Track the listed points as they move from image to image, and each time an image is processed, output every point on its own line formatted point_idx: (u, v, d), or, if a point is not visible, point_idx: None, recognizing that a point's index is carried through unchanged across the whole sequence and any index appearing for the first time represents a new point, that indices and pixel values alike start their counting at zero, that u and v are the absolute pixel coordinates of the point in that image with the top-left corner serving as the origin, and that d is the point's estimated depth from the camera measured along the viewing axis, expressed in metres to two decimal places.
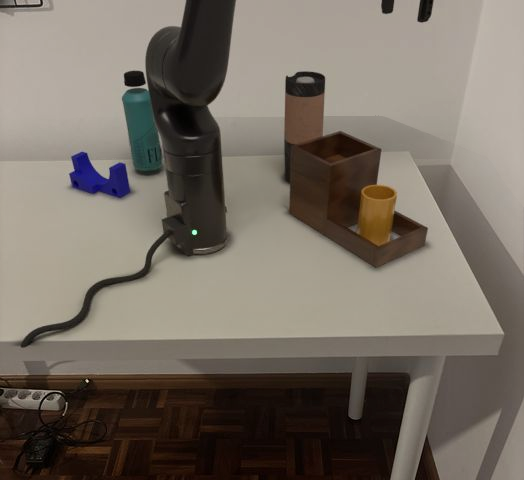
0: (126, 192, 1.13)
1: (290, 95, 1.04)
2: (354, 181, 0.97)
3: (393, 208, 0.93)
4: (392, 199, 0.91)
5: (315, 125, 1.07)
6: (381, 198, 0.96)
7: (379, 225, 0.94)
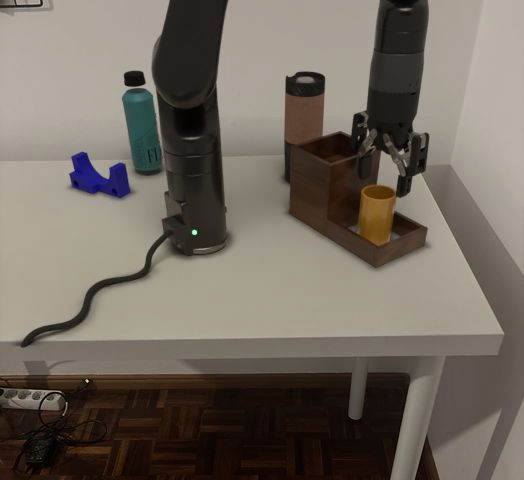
0: (126, 192, 1.13)
1: (290, 95, 1.04)
2: (354, 181, 0.97)
3: (393, 208, 0.93)
4: (392, 199, 0.91)
5: (315, 125, 1.07)
6: (381, 198, 0.96)
7: (379, 225, 0.94)
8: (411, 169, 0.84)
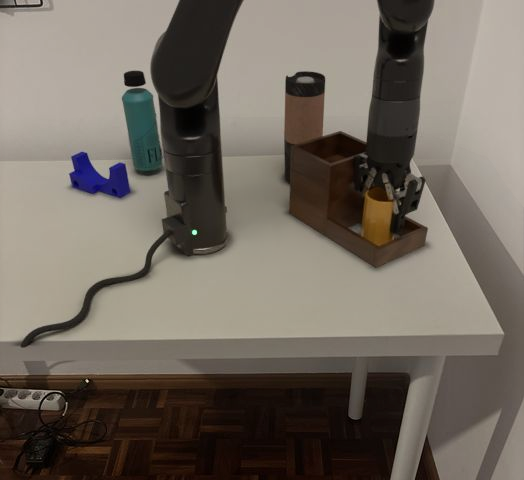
0: (126, 192, 1.13)
1: (290, 95, 1.04)
2: None
3: None
4: None
5: (315, 125, 1.07)
6: (385, 200, 0.96)
7: (383, 227, 0.93)
8: (404, 208, 0.89)
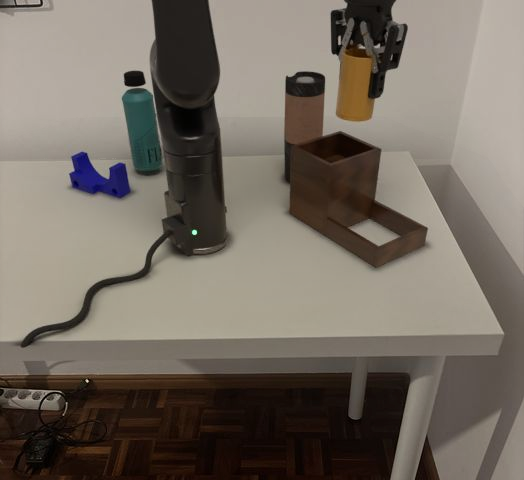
0: (126, 192, 1.13)
1: (290, 95, 1.04)
2: (354, 181, 0.97)
3: None
4: None
5: (315, 125, 1.07)
6: None
7: (361, 91, 0.84)
8: (384, 63, 0.80)
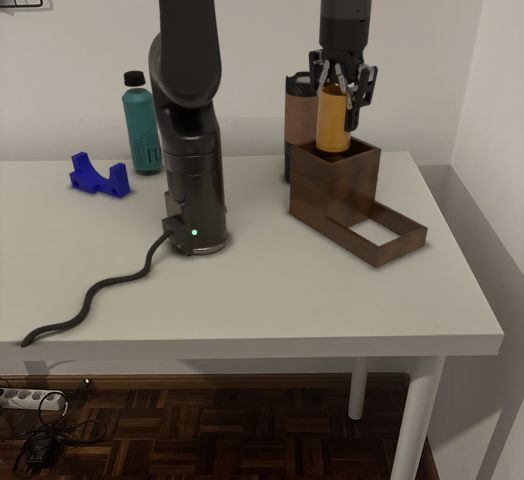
0: (126, 192, 1.13)
1: (290, 95, 1.04)
2: (354, 181, 0.97)
3: None
4: None
5: (315, 125, 1.07)
6: None
7: (337, 125, 0.91)
8: (357, 101, 0.87)
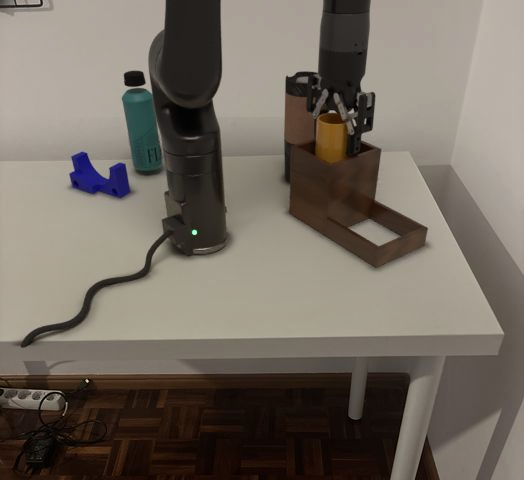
0: (126, 192, 1.13)
1: (290, 95, 1.04)
2: (354, 181, 0.97)
3: None
4: None
5: None
6: None
7: (335, 152, 0.94)
8: (359, 127, 0.89)
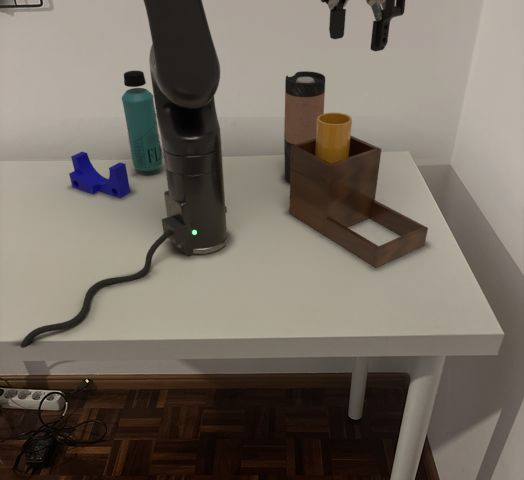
0: (126, 192, 1.13)
1: (290, 95, 1.04)
2: (354, 181, 0.97)
3: (348, 134, 0.94)
4: (346, 124, 0.92)
5: (315, 125, 1.07)
6: None
7: (335, 152, 0.94)
8: (388, 9, 0.73)
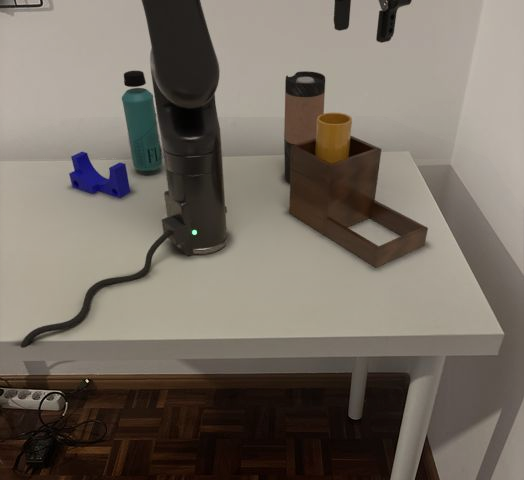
0: (126, 192, 1.13)
1: (290, 95, 1.04)
2: (354, 181, 0.97)
3: (348, 134, 0.94)
4: (346, 124, 0.92)
5: (315, 125, 1.07)
6: None
7: (335, 152, 0.94)
8: None
